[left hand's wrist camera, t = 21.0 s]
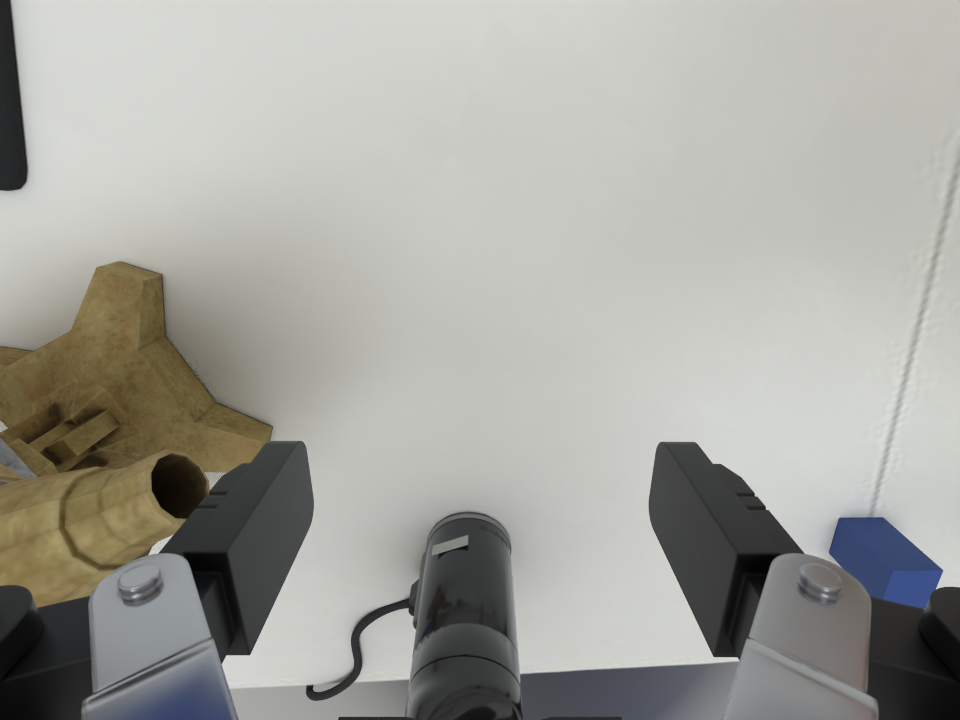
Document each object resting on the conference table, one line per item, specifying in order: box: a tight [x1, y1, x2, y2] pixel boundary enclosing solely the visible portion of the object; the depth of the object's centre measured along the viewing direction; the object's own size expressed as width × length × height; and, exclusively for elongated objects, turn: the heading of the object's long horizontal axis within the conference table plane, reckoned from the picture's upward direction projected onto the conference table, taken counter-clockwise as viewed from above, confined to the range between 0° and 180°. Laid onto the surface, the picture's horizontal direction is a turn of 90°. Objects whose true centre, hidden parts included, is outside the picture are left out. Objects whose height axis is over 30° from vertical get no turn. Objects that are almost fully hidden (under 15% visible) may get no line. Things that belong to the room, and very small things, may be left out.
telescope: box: [0, 262, 272, 608], centre depth 31 cm, size 23×40×40 cm, turn 116°
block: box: [829, 518, 943, 609], centre depth 53 cm, size 5×5×8 cm
